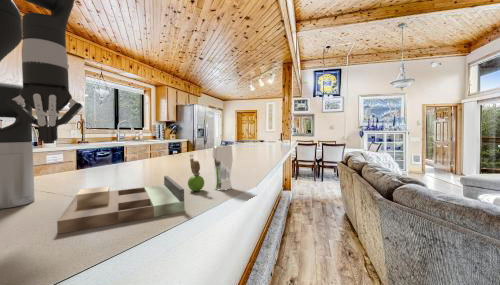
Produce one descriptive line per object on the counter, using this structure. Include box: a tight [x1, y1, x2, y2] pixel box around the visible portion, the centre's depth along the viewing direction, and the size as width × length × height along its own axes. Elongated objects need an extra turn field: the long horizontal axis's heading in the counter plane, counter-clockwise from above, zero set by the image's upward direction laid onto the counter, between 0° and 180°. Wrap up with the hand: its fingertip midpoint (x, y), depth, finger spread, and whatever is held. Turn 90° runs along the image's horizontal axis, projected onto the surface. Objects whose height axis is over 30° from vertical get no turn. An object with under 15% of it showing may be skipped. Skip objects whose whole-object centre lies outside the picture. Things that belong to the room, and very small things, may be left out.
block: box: [76, 186, 110, 208], centre depth 54 cm, size 6×6×3 cm
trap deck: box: [56, 175, 185, 235], centre depth 57 cm, size 24×22×6 cm
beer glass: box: [212, 145, 234, 191], centre depth 77 cm, size 7×7×15 cm
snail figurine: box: [187, 154, 205, 192], centre depth 75 cm, size 5×6×12 cm
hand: (49, 143), depth 49 cm, fingers closed
